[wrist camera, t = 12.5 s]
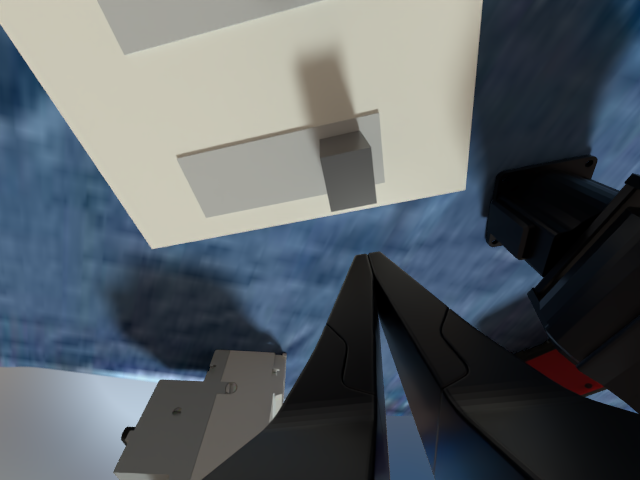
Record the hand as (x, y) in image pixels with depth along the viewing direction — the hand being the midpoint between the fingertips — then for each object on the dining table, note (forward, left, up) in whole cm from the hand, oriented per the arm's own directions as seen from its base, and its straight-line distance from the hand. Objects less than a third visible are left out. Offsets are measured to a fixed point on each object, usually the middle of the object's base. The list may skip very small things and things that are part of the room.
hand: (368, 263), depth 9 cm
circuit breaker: (+18, +22, -12) cm, 31 cm away
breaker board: (+4, -6, -12) cm, 14 cm away
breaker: (0, -1, -10) cm, 10 cm away
